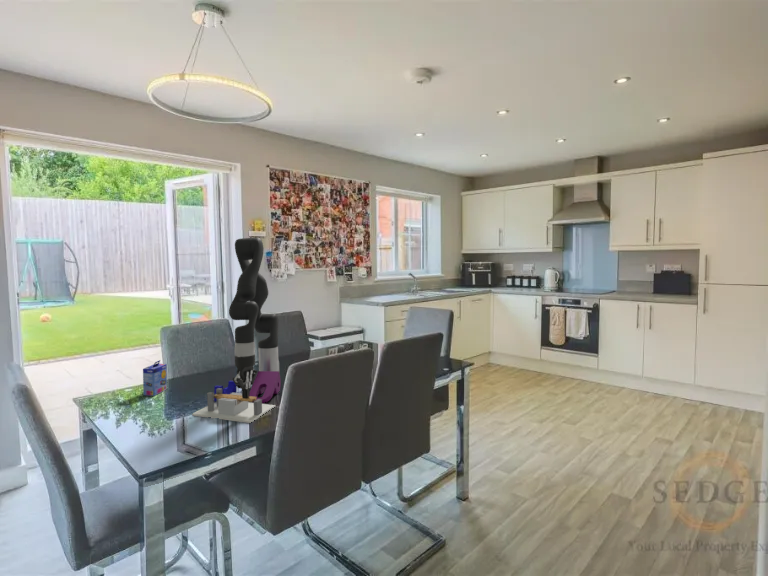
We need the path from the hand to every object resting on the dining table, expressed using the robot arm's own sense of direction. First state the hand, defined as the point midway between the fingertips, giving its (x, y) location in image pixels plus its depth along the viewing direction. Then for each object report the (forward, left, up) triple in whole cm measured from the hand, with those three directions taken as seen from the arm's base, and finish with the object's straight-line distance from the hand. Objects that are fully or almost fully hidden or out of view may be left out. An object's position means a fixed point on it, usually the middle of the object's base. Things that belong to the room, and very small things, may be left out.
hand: (245, 397), depth 163 cm
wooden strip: (0, -6, -1) cm, 6 cm away
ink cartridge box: (-11, -55, -7) cm, 57 cm away
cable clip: (-13, -20, -6) cm, 25 cm away
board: (-2, -6, -7) cm, 9 cm away
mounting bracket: (-20, -5, -7) cm, 22 cm away
